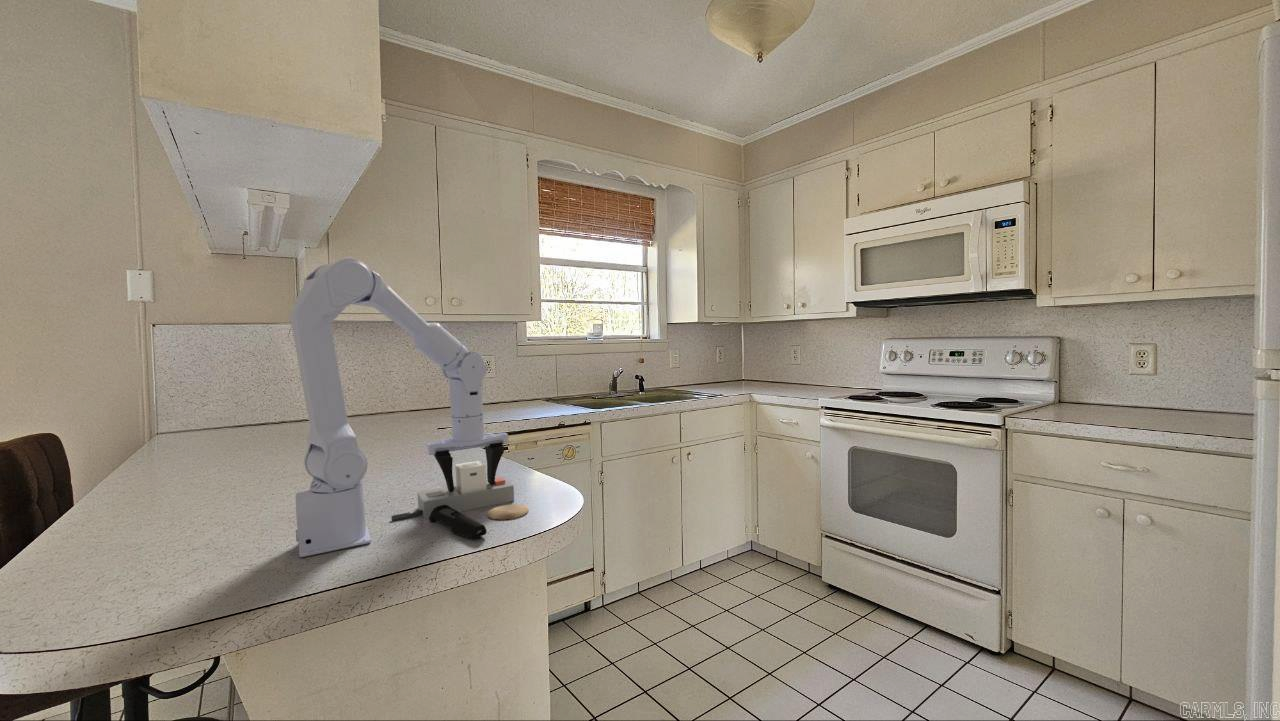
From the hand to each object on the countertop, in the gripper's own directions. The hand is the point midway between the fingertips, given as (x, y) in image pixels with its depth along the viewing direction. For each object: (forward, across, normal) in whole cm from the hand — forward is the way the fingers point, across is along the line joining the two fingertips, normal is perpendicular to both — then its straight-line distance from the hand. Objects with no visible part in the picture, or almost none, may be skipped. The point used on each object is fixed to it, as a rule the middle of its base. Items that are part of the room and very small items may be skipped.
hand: (471, 486), depth 102 cm
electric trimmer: (+4, +5, +12) cm, 13 cm away
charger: (+1, 0, 0) cm, 1 cm away
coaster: (+3, -4, +10) cm, 11 cm away
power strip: (+3, +4, 0) cm, 5 cm away
